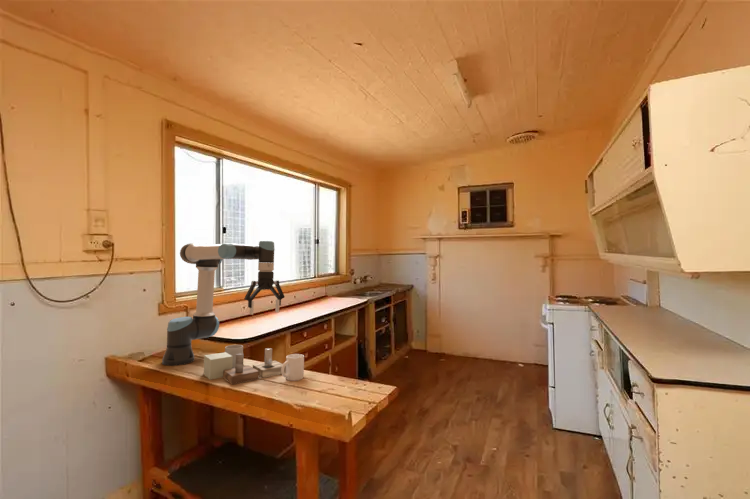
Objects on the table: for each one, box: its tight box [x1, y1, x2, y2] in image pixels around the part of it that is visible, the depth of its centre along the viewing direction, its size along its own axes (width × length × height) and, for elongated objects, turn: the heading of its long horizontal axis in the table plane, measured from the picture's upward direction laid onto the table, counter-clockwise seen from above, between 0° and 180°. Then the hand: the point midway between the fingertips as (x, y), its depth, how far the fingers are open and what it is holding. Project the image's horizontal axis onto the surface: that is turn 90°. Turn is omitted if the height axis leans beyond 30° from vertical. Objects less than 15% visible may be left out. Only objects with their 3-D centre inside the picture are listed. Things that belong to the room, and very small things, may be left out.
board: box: [222, 353, 260, 385], centre depth 160 cm, size 12×12×12 cm
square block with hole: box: [252, 360, 286, 379], centre depth 169 cm, size 12×12×4 cm
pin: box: [264, 347, 273, 369], centre depth 168 cm, size 3×3×12 cm
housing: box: [202, 351, 233, 381], centre depth 165 cm, size 10×10×9 cm
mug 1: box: [224, 344, 244, 368], centre depth 181 cm, size 11×10×10 cm
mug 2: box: [280, 353, 305, 382], centre depth 160 cm, size 12×8×10 cm
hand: (264, 313), depth 173 cm, fingers open, 13 cm apart
